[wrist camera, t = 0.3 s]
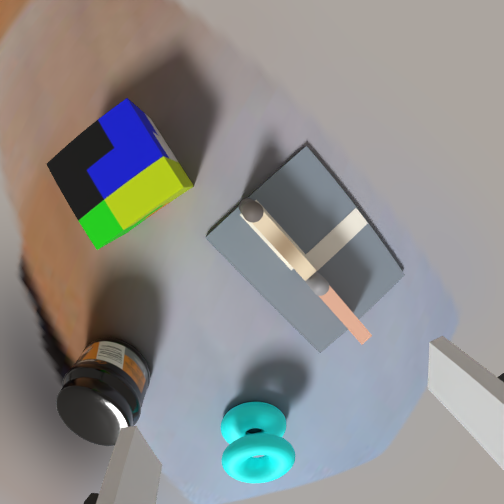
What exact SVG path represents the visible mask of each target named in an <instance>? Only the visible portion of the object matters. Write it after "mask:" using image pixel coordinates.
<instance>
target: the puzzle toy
mask: <svg viewBox="0 0 504 504" xmlns="http://www.w3.org/2000/svg"><path fill="white" fill-rule="evenodd" d="M47 166H48V168H49V170H50V172H51V174H52V175H53V177H54V179H55V181H56V183H57V185H58V186H59V188H60V190H61V192H62V193H63V195H64V197H65V199H66V200H67V202H68V204H69V206H70V207H71V209H72V211H73V212H74V214H75V216H76V217H77V219H78V221H79V222H80V224H81V226H82V227H83V229H84V230H85V232H86V234H87V235H88V237H89V238H90V240H91V241H92V243H93V244H94V246H95V248H96V249H97V250H98V249H100V248H101V247H103V246H105V245H107V244H108V243H110V242H112V241H113V240H115V239H117V238H119V237H120V236H122V235H124V234H126V233H127V232H129V231H130V230H131V229H133V228H134V227H136V226H137V225H138V224H140V223H141V222H142V221H144V220H145V219H147V218H148V217H149V216H151V215H152V214H154V213H155V212H157V211H158V210H159V209H161V208H162V207H164V206H165V205H167V204H168V203H170V202H171V201H173V200H174V199H176V198H177V197H178V196H180V195H181V194H183V193H184V192H186V191H187V190H189V189H190V188H192V187H194V186H193V184H192V182H191V181H190V179H189V178H188V176H187V175H186V173H185V172H184V170H183V168H182V167H181V165H180V164H179V162H178V161H177V159H176V158H175V156H174V154H173V153H172V151H171V150H170V148H169V147H168V145H167V143H166V142H165V140H164V139H163V137H162V136H161V134H160V132H159V131H158V129H157V128H156V126H155V125H154V123H153V121H152V120H151V118H150V117H149V116H147V115H146V114H145V113H144V112H143V111H142V110H140V109H139V108H138V107H137V106H136V105H135V104H134V103H132V102H131V101H130V100H129V99H128V98H126V99H125V100H124V101H122V102H121V103H119V104H118V105H117V106H115V107H114V108H113V109H111V110H110V111H109V112H107V113H106V114H105V115H103V116H102V117H101V118H100V119H98V120H97V121H96V122H94V123H93V124H92V125H91V126H89V127H88V128H87V129H86V130H85V131H83V132H82V133H81V134H80V135H78V136H77V137H76V138H75V139H74V140H73V141H71V142H70V143H69V144H68V145H67V146H66V147H65V148H63V149H62V150H61V151H60V152H59V153H58V154H57V155H56V156H55V157H54V158H52V159H51V160H50V161H49V162H48V163H47Z"/></svg>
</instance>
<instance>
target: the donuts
mask: <svg viewBox="0 0 504 504" xmlns="http://www.w3.org/2000/svg"><path fill="white" fill-rule="evenodd" d="M252 428H259V429H262V431H260V432H257V433H247V432H246V431H248V430H249V429H252ZM285 430H286V419H285V416H284V415H283V413H282V412H281V411H280V410H279V409H278V408H277V407H275V406H273V405H271V404H268V403H264V402H247V403H243V404H240V405H238V406H235V407H234V408H232V409H231V410H230V411H228V412H227V413H226V415H225V416H224V418H223V420H222V422H221V432H222V435H223V437H224V439H225V440H226V441H227V442H228V443H229V444H230V445H228V447H227V448H226V449H225V451H224V452H223V455H222V465H223V468H224V470H225V471H226V472H227V474H228V475H230V476H231V477H233V478H234V479H236V480H239V481H242V482H246V483H264V482H269V481H272V480H275V479H277V478H279V477H281V476H283V475H284V474H285V473H287V472H288V471H289V470H290V469H291V467H292V466H293V464H294V461H295V451H294V449H293V447H292V445H291V444H290V443H289V442H288V441H287V440H285V439H284V438H282V436H283V435H284V433H285ZM256 455H265V456H262V457H259V458H254V457H252V456H256Z"/></svg>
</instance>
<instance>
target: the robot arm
mask: <svg viewBox="0 0 504 504" xmlns="http://www.w3.org/2000/svg"><path fill="white" fill-rule="evenodd" d="M428 389H429V390H430V391H431V392H432V393H433V395H435V397H436V398H437V399H438V400H439V401H440V402H441V403H442V404H443V405H444V406H445V407H446V408H447V409H448V410H449V411H450V412H451V414H452V415H453V416H454V417H455V418H456V419H457V420H458V421H459V422H460V423H461V424H462V425H463V426H464V427H465V429H466V430H467V431H468V432H469V433H470V434H471V435H472V436H473V437H474V438H475V439H476V440H477V442H478V443H479V444H480V445H481V446H482V447H483V448H484V449H485V450H486V451H487V453H488V454H489V455H490V456H491V457H492V458H493V459H494V460H495V461H496V462H497V464H498V465H499V466H500V467H501V468H502V469H503V470H504V373H503V374H501V375H500V376H499V377H496V376H495V375H494V374H492V373H491V372H490V371H488V370H487V369H486V368H484V367H483V366H482V365H480V364H479V363H478V362H477V361H475V360H474V359H473V358H471V357H470V356H469V355H467V354H466V353H465V352H463V351H462V350H461V349H459V348H458V347H457V346H455V345H454V344H453V343H451V342H450V341H449V340H447V339H446V338H445V337H443V336H441V337H439V338H437V339H435V340H433V341H431V342H429V371H428ZM161 468H162V464H161V462H160V461H159V460H158V458H157V457H156V455H155V454H154V452H153V451H152V449H151V448H150V446H149V445H148V443H147V442H146V440H145V439H144V437H143V436H142V434H141V433H140V431H139V429H138V428H137V426H131V427H121V430H120V433H119V436H118V438H117V441H116V444H115V447H114V450H113V453H112V456H111V459H110V462H109V465H108V468H107V471H106V474H105V477H104V480H103V483H102V486H101V489H100V492H99V494H98V493H91V494H90V495H89V497H88V498H87V499H86V500H85V502H84V504H156V500H157V493H158V486H159V480H160V474H161Z"/></svg>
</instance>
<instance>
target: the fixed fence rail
mask: <svg viewBox="0 0 504 504" xmlns="http://www.w3.org/2000/svg"><path fill="white" fill-rule="evenodd" d="M239 210H240V212H241V213H242V215H243V217H244V218H245V219H246V220H247V221H248V222H251V223H252V224H253V225H254V226H255V227H256V228H257V229H258V230H259V231H260V232H261V233H262V235H263V236H264V237H265V238H266V239H267V240H268V241H269V242H270V243H271V244H272V245H273V246H274V248H275V249H276V250H277V251H278V252H279V253H280V254H281V255H282V256H283V257H284V258H285V260H286V261H287V262H288V263H289V264H290V265H291V266H292V267H293V268H294V269H295V271H296V272H297V273H298V274H299V275H300V276H301V277H302V278H303V279H304V280H305V281H306V280H307V279H308V278H309V277H310V276H311V275H313V274H314V273H315V272H316V269H315V268H314V267H313V266H312V265H311V264H310V263H309V261H308V260H307V259H306V258H305V257H304V256H303V255H302V254H301V252H300V251H299V250H298V249H297V248H296V247H295V246H294V245H293V243H292V242H291V241H290V240H289V239H288V238H287V237H286V236H285V234H284V233H283V232H282V231H281V230H280V229H279V228H278V227H277V226H276V224H275V223H274V222H273V221H272V220H271V219H270V218H269V217H268V216H267V215H266V213H265V212H264V211H263V207H262V206H261V205H260V204H259V203H258V202H256V201H254V200H252V199H250V198H245V199H243V200H242V201H241V202H240V204H239Z"/></svg>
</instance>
